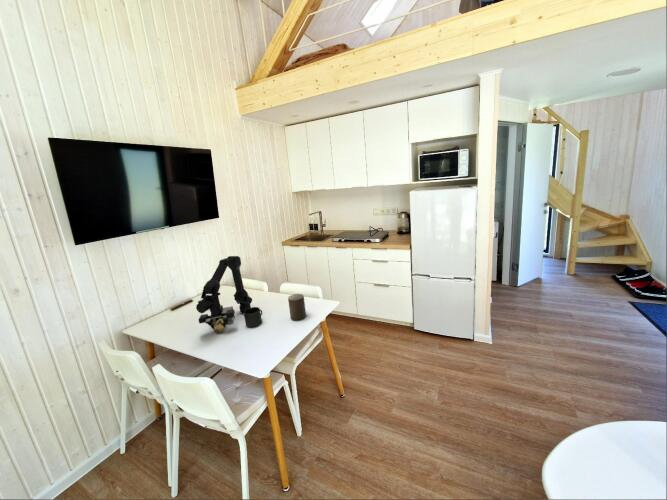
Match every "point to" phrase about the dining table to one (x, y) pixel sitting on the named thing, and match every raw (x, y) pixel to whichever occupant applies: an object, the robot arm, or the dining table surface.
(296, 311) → the pillar candle
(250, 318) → the mug
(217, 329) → the gold cylindrical piece
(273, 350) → the dining table surface
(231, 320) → the block
